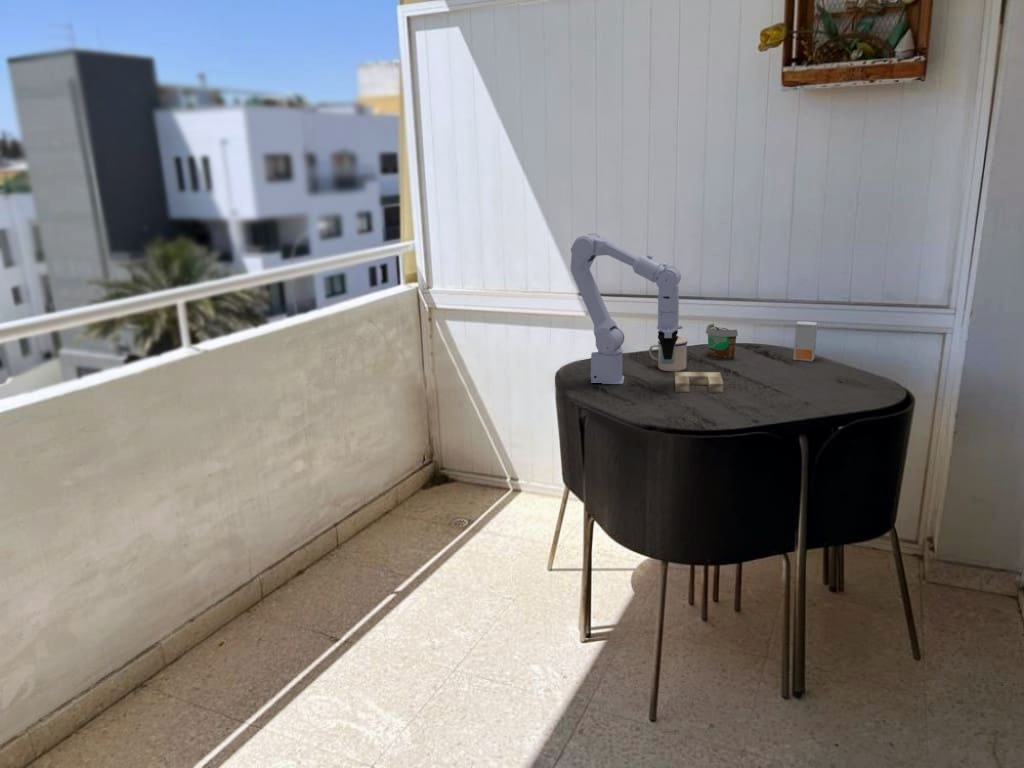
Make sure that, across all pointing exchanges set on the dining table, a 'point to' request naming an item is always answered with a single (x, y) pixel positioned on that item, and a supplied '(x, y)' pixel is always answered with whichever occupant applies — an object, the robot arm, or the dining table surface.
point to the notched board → (698, 381)
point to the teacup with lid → (679, 356)
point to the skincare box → (805, 341)
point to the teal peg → (668, 360)
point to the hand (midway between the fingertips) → (667, 357)
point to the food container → (721, 342)
